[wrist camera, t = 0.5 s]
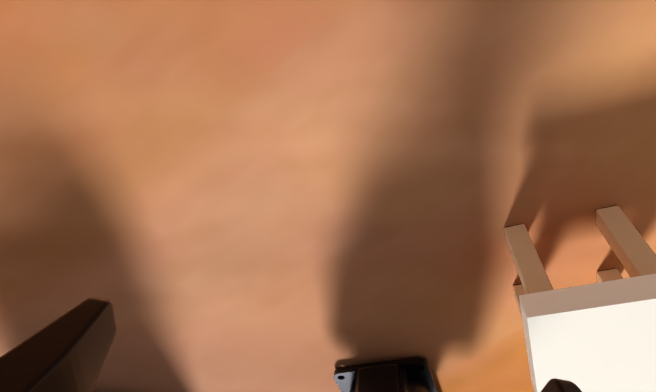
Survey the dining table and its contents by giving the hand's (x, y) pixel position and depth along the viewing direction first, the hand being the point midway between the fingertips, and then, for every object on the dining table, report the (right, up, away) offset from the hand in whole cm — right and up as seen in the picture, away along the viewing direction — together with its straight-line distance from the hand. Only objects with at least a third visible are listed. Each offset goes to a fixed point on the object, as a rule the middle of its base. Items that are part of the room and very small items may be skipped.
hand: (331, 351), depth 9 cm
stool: (+13, 0, +15) cm, 20 cm away
